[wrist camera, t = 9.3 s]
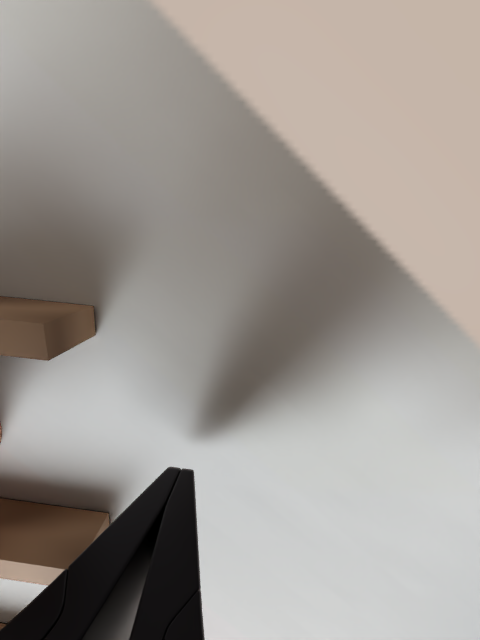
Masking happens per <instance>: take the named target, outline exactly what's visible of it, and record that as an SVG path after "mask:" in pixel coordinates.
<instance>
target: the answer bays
mask: <svg viewBox="0 0 480 640" xmlns="http://www.w3.org/2000/svg"><path fill="white" fill-rule="evenodd" d="M95 335H96V334H95V320H94V306H88V305H79V304H69V303H60V302H50V301H41V300H31V299H22V298H12V297H3V296H0V355H4V356H13V357H22V358H30V359H39V360H50V359H52V358H54V357H56V356H58V355H60V354H61V353H63V352H65V351H67V350H69V349H71V348H73V347H74V346H76V345H78V344H80V343H82V342H84V341H86V340H87V339H89V338H91V337H93V336H95ZM108 526H109V513H103V512H96V511H89V510H82V509H74V508H67V507H60V506H53V505H46V504H39V503H31V502H24V501H17V500H10V499H3V498H0V578H3V579H9V580H16V581H22V582H29V583H35V584H42V585H48V586H49V585H50V584H51V583H52V582H53V581H54V580H55V579H56V578H57V577H58V576H59V575H60V574H61V573H62V572H63V571H64V570H65V569H68V567H69V565H70V564H71V563H72V562H73V561H74V560H75V559H76V558H77V557H78V556H79V555H80V554H81V553H82V552H83V551H84V550H85V549H86V548H87V547H88V546H89V545H90V544H91V543H92V542H93V541H94V540H95V539H96V538H97V537H98V536H99V535H100V534H101V533H102V532H103V531H104V530H105V529H106V528H107V527H108ZM5 625H6V624H2V623H0V630H1V629H2V628H3V627H4V626H5Z"/></svg>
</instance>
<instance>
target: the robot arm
mask: <svg viewBox="0 0 480 640" xmlns="http://www.w3.org/2000/svg"><path fill="white" fill-rule="evenodd" d="M200 589H201V586H200V569H199V551H198V534H197V517H196V499H195V482H194V471H193V470H191V469H182V470H181V469H180V468H176V467H168V468H167V469H166V470H165V471H164V472H163V473H162V474H161V475H160V476H159V477H158V478H157V479H156V480H155V481H154V482H153V483H152V484H151V485H150V486H149V487H148V488H147V489H146V490H145V491H144V492H143V493H142V494H141V495H140V496H139V497H138V498H137V499H136V500H135V501H134V502H133V503H132V504H131V505H130V506H129V507H128V508H127V509H126V510H125V511H124V512H123V513H122V514H121V515H120V516H119V517H118V518H117V519H116V520H115V521H114V522H112V523H111V524H110V525H109V526H108V527H107V528H106V529H105V530H104V531H103V532H102V533H101V534H100V535H99V536H98V537H97V538H96V539H95V540H94V541H93V542H92V543H91V544H90V545H89V546H88V547H87V548H86V549H85V550H84V551H83V552H82V553H81V554H80V555H79V556H78V557H77V558H76V559H75V560H74V561H73V562H72V563H71V564H70V565H69V567H68V569H65V570H64V571H63V572H62V573H61V574H60V575H59V576H58V577H57V578H56V579H55V580H54V581H53V582H52V583H51V584H50V585H49V586H48V587H46V588H45V589H44V590H43V591H42V592H41V593H40V594H39V595H38V596H37V597H36V598H35V599H34V600H33V601H32V602H31V603H30V604H29V605H28V606H27V607H26V608H24V609H23V610H22V611H21V612H20V613H19V614H18V615H17V616H15V617H14V618H13V619H12V620H11V621H10V622H9V623H8V624H6V625H5V626H4V627H3V628H2V629H1V630H0V640H205V639H204V628H203V616H202V601H201V591H200Z"/></svg>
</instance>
